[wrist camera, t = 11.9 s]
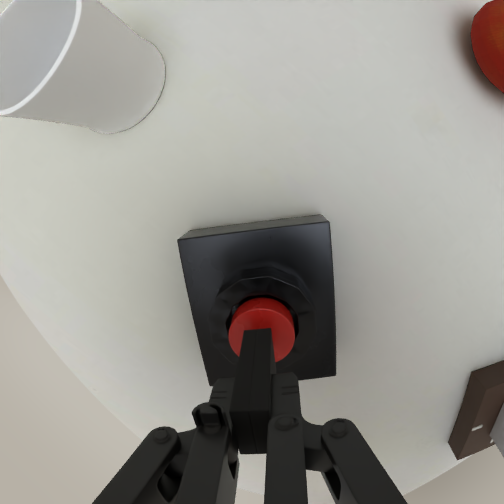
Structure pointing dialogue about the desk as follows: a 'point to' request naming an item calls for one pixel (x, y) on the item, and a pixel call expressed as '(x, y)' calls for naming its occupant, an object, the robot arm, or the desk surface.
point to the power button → (263, 324)
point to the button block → (263, 288)
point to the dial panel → (478, 411)
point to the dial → (499, 431)
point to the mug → (76, 66)
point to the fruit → (490, 41)
